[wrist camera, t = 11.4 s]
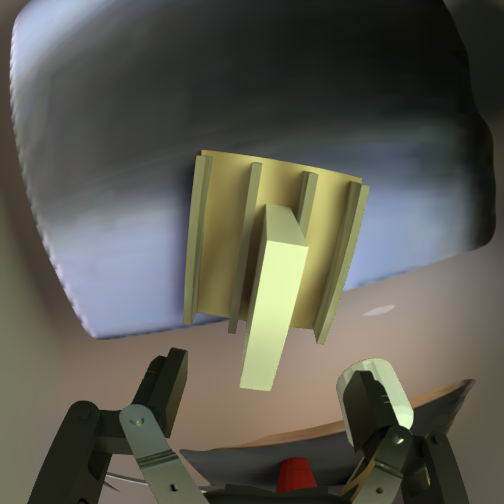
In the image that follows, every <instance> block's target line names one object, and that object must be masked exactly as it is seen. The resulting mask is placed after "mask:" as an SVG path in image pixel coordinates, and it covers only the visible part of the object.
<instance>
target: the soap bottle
mask: <svg viewBox="0 0 504 504" xmlns="http://www.w3.org/2000/svg"><path fill="white" fill-rule="evenodd" d="M356 370H370V371H371V372H372V374H373V376H374V379H375V380H378V381H379V382H380V383H381V384H382V385H383V386H384V387H385V390H386V392H387V394H388V397H389V399H390V403H391V404H392V407H393V409H394V412H395V414H396V417H397V419H398V422H399V425H401V426H404V427H406V428H407V429H408V430H409V428H410V427H411V425H412V423H413V410H412V408H411V406H410V403H409V401H408V399H407V397H406V395H405V393H404V390H403V388H402V386H401V384H400V382H399V380H398V378H397V376H396V374H395V372H394V370H393V368H392V366H391V365H390V363H389V362H388V361H385V360H383V359H381V358H371V359H366V360H362V361H360V362H358V363H355V364H353V365H351V366H350V367H349V368H348V369H347V370H345V371H344V372H343V373H342V375H341V376H340V377H339V379H338V381H337V385H336V389H337V393H338V398H339V402H340V406H341V410H342V415H343V419H344V423H345V428H346V432H347V437H348V440H349V442H350V443H351V444H352V446H354V445H353V441H352V436H351V432H350V428H349V424H348V420H347V416H346V412H345V408H344V404H343V393H344V390H345V388H346V386H347V385H348V383H349V381H350V379H351V377H352V375H353V373H354V372H355V371H356ZM428 482H429V480H428ZM429 485H430V483H429Z"/></svg>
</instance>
